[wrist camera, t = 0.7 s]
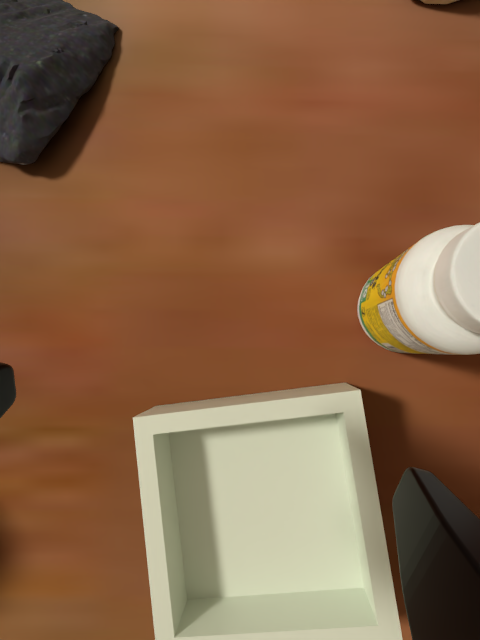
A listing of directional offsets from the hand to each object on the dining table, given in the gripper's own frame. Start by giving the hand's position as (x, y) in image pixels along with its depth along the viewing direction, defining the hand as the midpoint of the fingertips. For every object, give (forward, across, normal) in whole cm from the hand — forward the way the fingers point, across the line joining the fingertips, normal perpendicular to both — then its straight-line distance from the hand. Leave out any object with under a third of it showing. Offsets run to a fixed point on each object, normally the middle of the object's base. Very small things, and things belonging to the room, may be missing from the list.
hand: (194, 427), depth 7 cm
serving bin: (+9, -2, +12) cm, 15 cm away
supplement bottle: (+15, -8, 0) cm, 17 cm away
